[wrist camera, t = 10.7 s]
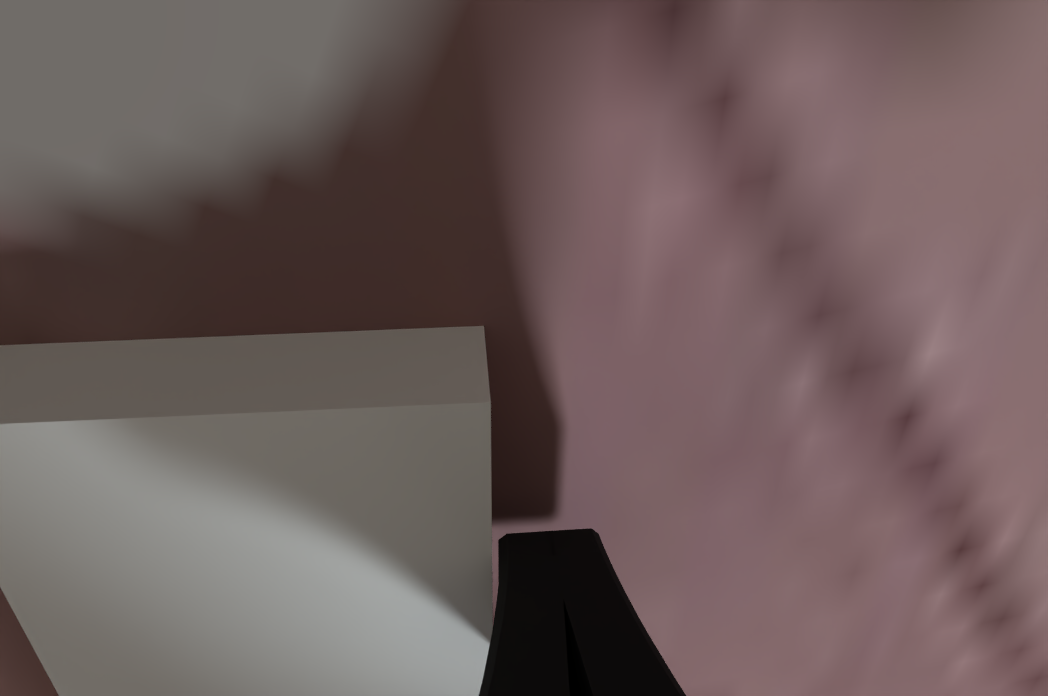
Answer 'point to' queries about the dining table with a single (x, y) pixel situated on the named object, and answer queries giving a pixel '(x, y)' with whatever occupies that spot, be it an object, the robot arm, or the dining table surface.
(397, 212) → the dining table surface
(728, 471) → the dining table surface
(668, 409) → the dining table surface
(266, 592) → the tile
